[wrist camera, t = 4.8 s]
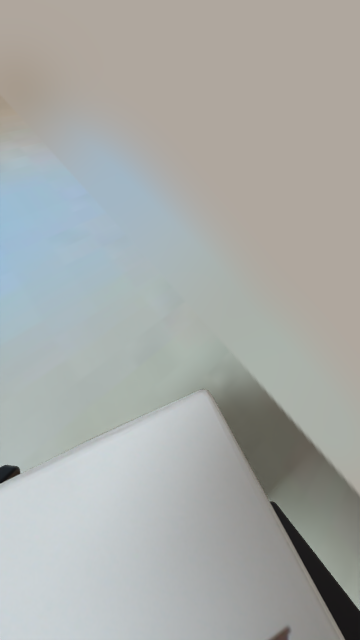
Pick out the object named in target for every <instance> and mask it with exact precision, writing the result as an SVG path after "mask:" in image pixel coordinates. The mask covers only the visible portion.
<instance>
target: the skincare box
mask: <svg viewBox="0 0 360 640" xmlns="http://www.w3.org/2000/svg"><path fill="white" fill-rule="evenodd" d="M0 640H345V639H344V637H343V635H342V633H341V631H340V630H339V628H338V626H337V624H336V622H335V621H334V619H333V617H332V615H331V613H330V611H329V610H328V608H327V606H326V604H325V602H324V601H323V599H322V597H321V595H320V593H319V591H318V590H317V588H316V586H315V584H314V582H313V580H312V579H311V577H310V575H309V573H308V571H307V569H306V568H305V566H304V564H303V562H302V560H301V558H300V557H299V555H298V553H297V551H296V549H295V547H294V546H293V544H292V542H291V540H290V538H289V536H288V535H287V533H286V531H285V529H284V527H283V525H282V524H281V522H280V520H279V518H278V516H277V514H276V513H275V511H274V509H273V507H272V505H271V503H270V502H269V500H268V498H267V496H266V494H265V492H264V490H263V489H262V487H261V485H260V483H259V481H258V479H257V478H256V476H255V474H254V472H253V470H252V468H251V466H250V465H249V463H248V461H247V459H246V457H245V455H244V454H243V452H242V450H241V448H240V446H239V444H238V442H237V441H236V439H235V437H234V435H233V433H232V431H231V429H230V428H229V426H228V424H227V422H226V420H225V418H224V416H223V415H222V413H221V411H220V409H219V407H218V405H217V403H216V402H215V400H214V398H213V396H212V394H211V393H210V392H209V391H208V390H205V389H201V390H198V391H196V392H194V393H192V394H190V395H188V396H185V397H183V398H181V399H179V400H176V401H174V402H172V403H170V404H168V405H165V406H163V407H161V408H159V409H157V410H154V411H152V412H150V413H147V414H145V415H143V416H140V417H138V418H136V419H134V420H131V421H129V422H127V423H125V424H123V425H120V426H118V427H116V428H114V429H112V430H110V431H107V432H105V433H103V434H101V435H99V436H97V437H94V438H92V439H90V440H88V441H86V442H84V443H82V444H80V445H78V446H76V447H74V448H72V449H70V450H68V451H66V452H64V453H62V454H60V455H58V456H55V457H53V458H51V459H49V460H47V461H45V462H43V463H41V464H39V465H37V466H35V467H33V468H31V469H29V470H27V471H25V472H23V473H21V474H19V475H17V476H15V477H13V478H11V479H9V480H7V481H5V482H3V483H1V484H0Z"/></svg>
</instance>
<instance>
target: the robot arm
mask: <svg viewBox="0 0 360 640" xmlns="http://www.w3.org/2000/svg"><path fill="white" fill-rule="evenodd" d="M19 474H20V469H19V467H17V466H11V465H4V466H2V467H0V484H1V483H3V482H5V481H7V480H9V479H11V478H13V477H15V476H17V475H19ZM269 502H270V503H271V505H272V507H273V509H274V511H275V513H276V514H277V516H278V518H279V520H280V522H281V524H282V525H283V527H284V529H285V531H286V533H287V535H288V536H289V538H290V540H291V542H292V544H293V546H294V547H295V549H296V551H297V553H298V555H299V557H300V558H301V560H302V562H303V564H304V566H305V568H306V569H307V571H308V573H309V575H310V577H311V579H312V580H313V582H314V584H315V586H316V588H317V590H318V591H319V593H320V595H321V597H322V599H323V601H324V602H325V604H326V606H327V608H328V610H329V611H330V613H331V615H332V617H333V619H334V621H335V622H336V624H337V626H338V628H339V630H340V631H341V633H342V635H343V637H344V639H345V640H360V611H359V609H358V608H357V607H356V606H355V604H354V603H353V602H352V600H351V599H350V598H349V597H348V595H347V594H346V593H345V591H344V590H343V589H342V588H341V586H340V585H339V584H338V582H337V581H336V580H335V579H334V577H333V576H332V575H331V573H330V572H329V571H328V570H327V568H326V567H325V566H324V564H323V563H322V562H321V561H320V559H319V558H318V557H317V555H316V554H315V553H314V552H313V550H312V549H311V548H310V546H309V545H308V544H307V543H306V541H305V540H304V539H303V537H302V536H301V535H300V534H299V532H298V531H297V530H296V528H295V527H294V526H293V525H292V523H291V522H290V521H289V520H288V518H287V517H286V516H285V514H284V513H283V512H282V511H281V509H280V508H279V507H278V505H277V504H276V503H275V502H271V501H269Z"/></svg>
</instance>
